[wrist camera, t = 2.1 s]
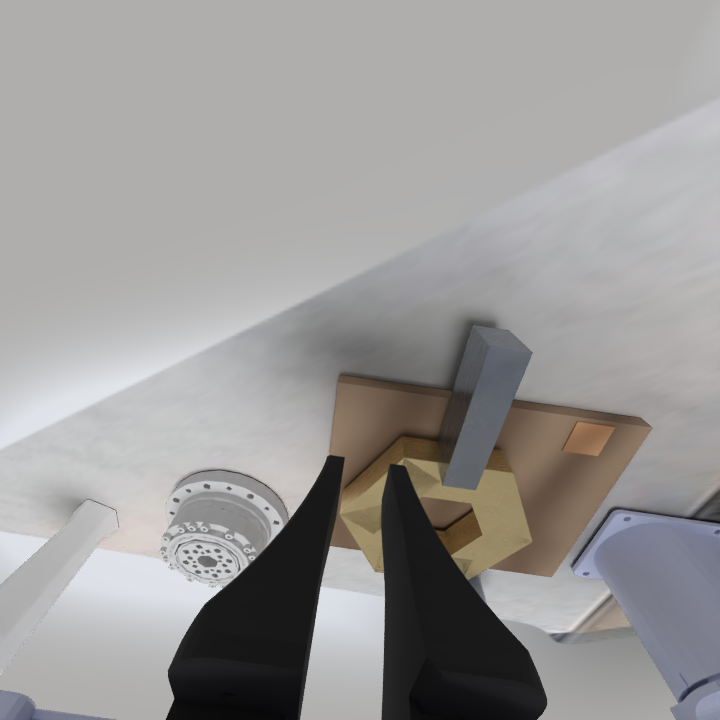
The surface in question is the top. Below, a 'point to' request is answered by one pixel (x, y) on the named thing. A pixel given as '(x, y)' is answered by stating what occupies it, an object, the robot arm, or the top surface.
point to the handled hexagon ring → (458, 463)
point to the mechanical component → (219, 525)
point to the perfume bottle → (49, 575)
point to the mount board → (520, 447)
